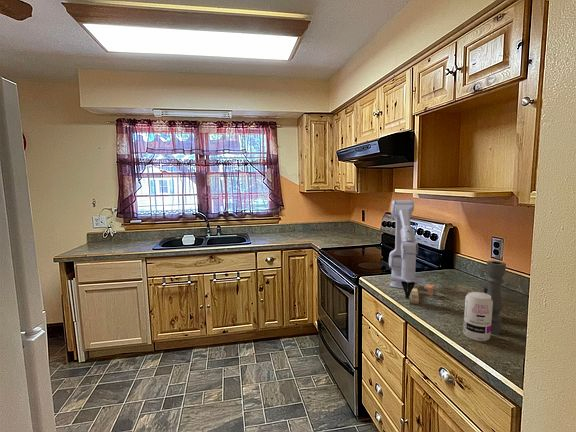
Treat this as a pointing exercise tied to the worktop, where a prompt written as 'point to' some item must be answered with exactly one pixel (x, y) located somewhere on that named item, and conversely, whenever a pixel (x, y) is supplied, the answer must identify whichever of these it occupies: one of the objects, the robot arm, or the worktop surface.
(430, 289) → the keeper
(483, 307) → the supplement can
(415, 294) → the link
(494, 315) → the candle holder
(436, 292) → the worktop surface
